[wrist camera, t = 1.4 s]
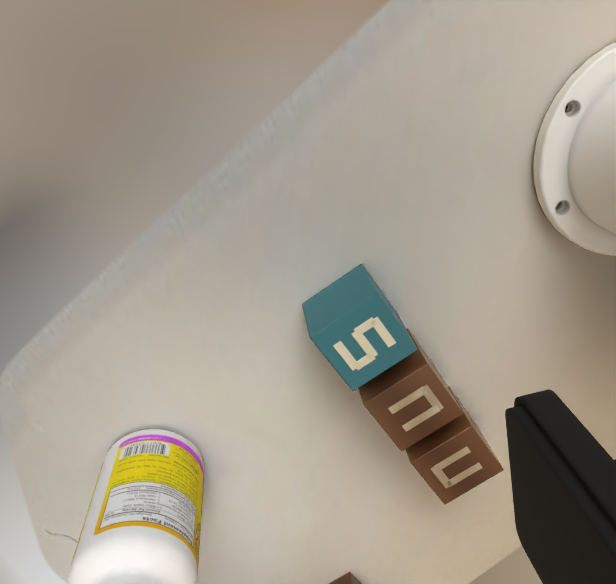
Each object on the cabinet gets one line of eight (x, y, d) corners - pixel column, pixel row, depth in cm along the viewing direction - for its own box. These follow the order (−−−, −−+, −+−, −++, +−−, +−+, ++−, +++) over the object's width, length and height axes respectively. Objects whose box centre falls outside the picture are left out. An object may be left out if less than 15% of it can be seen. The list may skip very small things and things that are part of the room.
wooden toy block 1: (407, 328, 37) (428, 363, 33) (440, 374, 39) (464, 414, 35) (350, 365, 38) (363, 405, 34) (385, 409, 39) (401, 452, 35)
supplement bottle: (159, 518, 41) (128, 710, 29) (83, 468, 39) (15, 655, 27) (226, 461, 40) (221, 639, 28) (151, 405, 37) (111, 574, 26)
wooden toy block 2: (448, 385, 39) (472, 426, 35) (478, 427, 41) (504, 470, 37) (393, 420, 40) (410, 463, 36) (425, 459, 42) (445, 505, 37)
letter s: (361, 263, 35) (377, 293, 31) (398, 315, 37) (418, 350, 33) (301, 303, 36) (309, 338, 32) (340, 353, 37) (353, 392, 33)
